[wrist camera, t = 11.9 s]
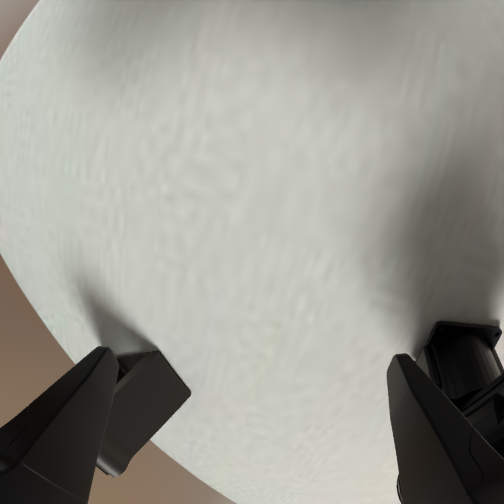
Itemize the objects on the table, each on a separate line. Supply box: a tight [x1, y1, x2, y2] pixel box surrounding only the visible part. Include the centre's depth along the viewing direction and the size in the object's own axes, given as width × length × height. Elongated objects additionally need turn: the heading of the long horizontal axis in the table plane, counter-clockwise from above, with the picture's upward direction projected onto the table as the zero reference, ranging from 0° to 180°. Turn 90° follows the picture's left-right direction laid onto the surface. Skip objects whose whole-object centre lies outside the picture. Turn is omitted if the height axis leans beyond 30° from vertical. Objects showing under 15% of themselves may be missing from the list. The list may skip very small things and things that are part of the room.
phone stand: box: [96, 351, 191, 477], centre depth 25 cm, size 9×6×12 cm, turn 116°
